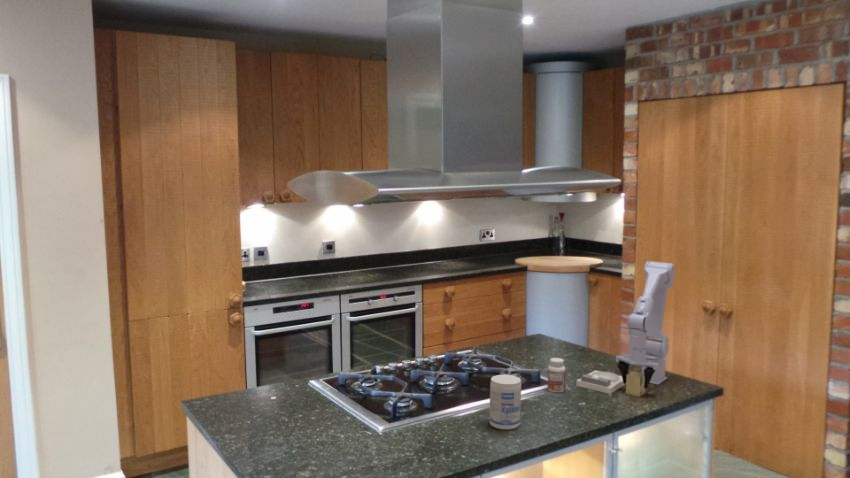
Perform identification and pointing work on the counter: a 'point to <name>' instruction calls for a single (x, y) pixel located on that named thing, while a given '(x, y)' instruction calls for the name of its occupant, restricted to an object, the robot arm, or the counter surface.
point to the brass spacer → (635, 383)
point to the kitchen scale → (601, 381)
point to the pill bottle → (556, 375)
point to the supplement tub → (505, 401)
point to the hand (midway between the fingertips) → (635, 385)
